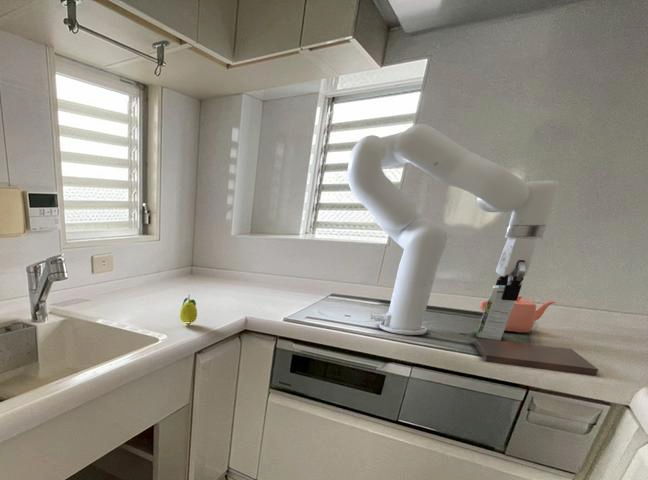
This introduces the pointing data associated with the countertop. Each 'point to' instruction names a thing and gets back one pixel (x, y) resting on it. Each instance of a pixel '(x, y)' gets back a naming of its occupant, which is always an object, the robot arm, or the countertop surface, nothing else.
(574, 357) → the cutting board
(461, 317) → the countertop surface
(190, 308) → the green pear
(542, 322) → the countertop surface
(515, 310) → the teapot
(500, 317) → the syrup box
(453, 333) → the countertop surface
